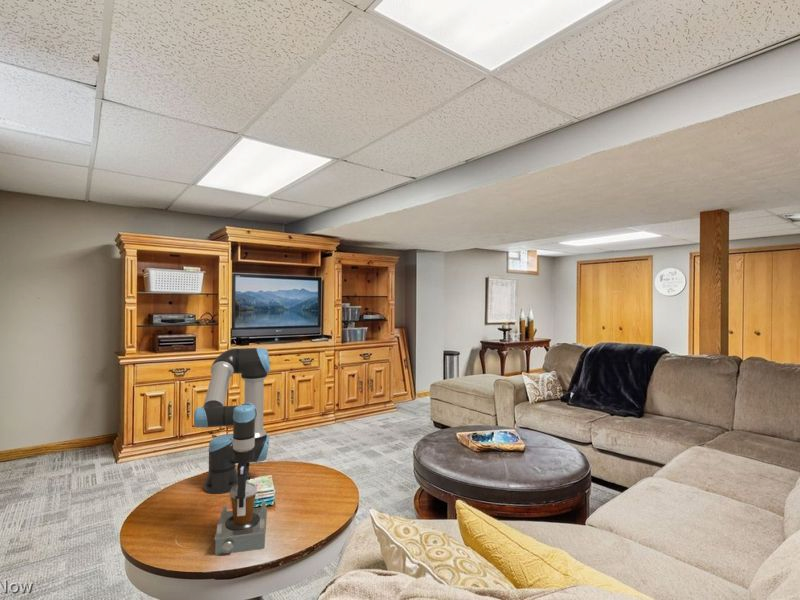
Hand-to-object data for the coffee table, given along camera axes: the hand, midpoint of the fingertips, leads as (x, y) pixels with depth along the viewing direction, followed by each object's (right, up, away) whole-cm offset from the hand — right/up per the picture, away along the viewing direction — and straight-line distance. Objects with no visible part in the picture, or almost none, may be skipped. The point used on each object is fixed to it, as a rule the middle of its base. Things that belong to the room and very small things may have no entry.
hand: (243, 506), depth 157 cm
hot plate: (0, -11, 0) cm, 11 cm away
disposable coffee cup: (0, -5, 0) cm, 5 cm away
